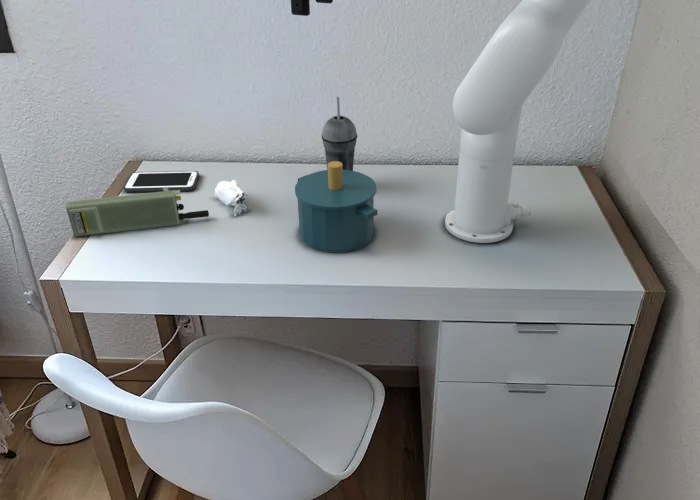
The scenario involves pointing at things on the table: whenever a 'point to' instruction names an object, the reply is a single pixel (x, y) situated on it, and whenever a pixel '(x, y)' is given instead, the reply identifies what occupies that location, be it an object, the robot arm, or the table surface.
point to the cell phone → (161, 181)
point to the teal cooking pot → (336, 227)
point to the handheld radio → (127, 213)
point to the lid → (335, 188)
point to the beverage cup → (339, 140)
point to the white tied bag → (231, 195)
